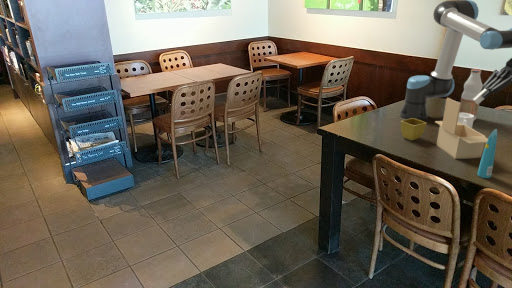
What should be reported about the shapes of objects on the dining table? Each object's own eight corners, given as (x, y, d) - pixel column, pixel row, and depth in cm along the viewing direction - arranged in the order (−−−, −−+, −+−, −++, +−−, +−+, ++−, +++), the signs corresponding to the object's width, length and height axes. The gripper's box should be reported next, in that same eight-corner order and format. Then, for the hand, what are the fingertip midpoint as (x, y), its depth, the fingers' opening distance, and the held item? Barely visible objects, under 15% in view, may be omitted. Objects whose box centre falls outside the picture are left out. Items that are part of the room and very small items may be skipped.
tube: (479, 170, 155) (489, 127, 148) (492, 174, 152) (503, 129, 145) (474, 177, 150) (485, 132, 143) (488, 181, 147) (499, 135, 140)
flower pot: (411, 142, 185) (414, 125, 181) (398, 137, 192) (400, 120, 188) (424, 139, 188) (427, 122, 185) (410, 134, 196) (412, 117, 192)
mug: (451, 129, 201) (455, 112, 197) (469, 131, 197) (473, 113, 194) (453, 137, 190) (456, 118, 187) (472, 139, 187) (476, 120, 184)
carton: (430, 140, 187) (433, 121, 183) (453, 139, 187) (457, 120, 184) (463, 165, 161) (467, 142, 157) (489, 163, 161) (495, 141, 157)
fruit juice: (460, 120, 213) (469, 71, 203) (455, 115, 222) (464, 68, 211) (478, 121, 212) (489, 71, 201) (472, 116, 220) (482, 68, 210)
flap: (441, 127, 174) (446, 97, 169) (443, 127, 174) (448, 97, 169) (453, 134, 165) (459, 103, 160) (455, 134, 165) (461, 103, 160)
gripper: (505, 53, 165) (461, 92, 170) (527, 58, 153) (480, 100, 158) (513, 65, 167) (470, 103, 172) (536, 71, 155) (489, 111, 160)
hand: (475, 101), depth 165 cm, fingers closed
